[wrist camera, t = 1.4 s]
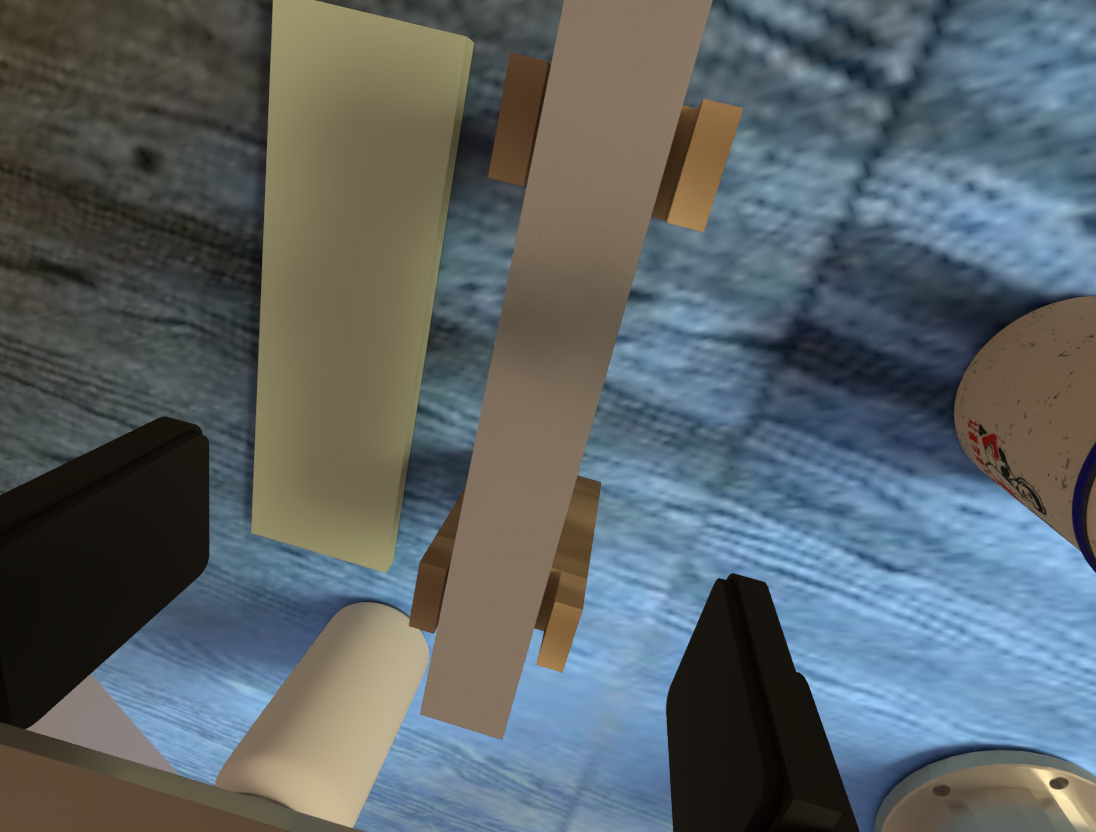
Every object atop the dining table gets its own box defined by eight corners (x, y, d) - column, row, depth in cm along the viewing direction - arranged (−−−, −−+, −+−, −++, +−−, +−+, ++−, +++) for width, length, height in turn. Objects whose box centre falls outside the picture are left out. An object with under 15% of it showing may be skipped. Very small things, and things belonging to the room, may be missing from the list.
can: (439, 685, 36) (348, 902, 25) (342, 680, 37) (214, 886, 26) (422, 598, 34) (315, 794, 23) (320, 595, 35) (170, 781, 24)
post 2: (681, 218, 25) (703, 231, 16) (544, 184, 25) (487, 177, 16) (704, 142, 23) (743, 108, 14) (560, 107, 24) (510, 52, 15)
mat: (393, 562, 33) (385, 572, 32) (261, 523, 34) (251, 532, 33) (473, 43, 23) (467, 36, 23) (287, -2, 24) (273, -10, 23)
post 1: (586, 531, 31) (562, 672, 22) (477, 500, 31) (408, 626, 22) (601, 482, 29) (582, 609, 20) (488, 450, 30) (419, 562, 21)
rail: (524, 655, 24) (502, 739, 20) (454, 634, 24) (419, 714, 20) (697, 42, 16) (713, -5, 12) (588, 17, 16) (572, -38, 12)
